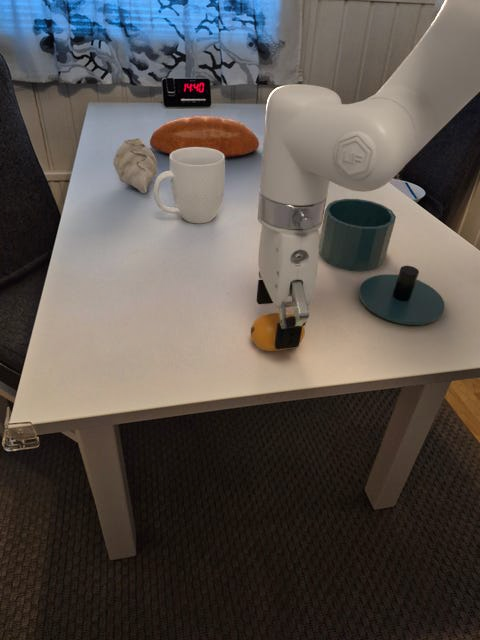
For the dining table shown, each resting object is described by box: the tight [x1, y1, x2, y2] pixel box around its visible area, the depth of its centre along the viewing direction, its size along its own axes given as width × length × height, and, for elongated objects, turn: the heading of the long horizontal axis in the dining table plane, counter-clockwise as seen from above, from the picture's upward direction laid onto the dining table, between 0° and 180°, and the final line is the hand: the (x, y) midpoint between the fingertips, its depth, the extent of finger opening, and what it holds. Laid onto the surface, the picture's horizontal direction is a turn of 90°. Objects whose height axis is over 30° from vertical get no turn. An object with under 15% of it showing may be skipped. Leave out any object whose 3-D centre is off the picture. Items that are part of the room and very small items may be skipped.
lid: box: [358, 265, 445, 326], centre depth 71 cm, size 13×13×6 cm
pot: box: [319, 198, 397, 272], centre depth 83 cm, size 12×12×8 cm
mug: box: [152, 147, 226, 224], centre depth 91 cm, size 15×11×13 cm
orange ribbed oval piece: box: [250, 311, 306, 352], centre depth 62 cm, size 8×5×5 cm
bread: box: [149, 115, 260, 158], centre depth 128 cm, size 23×32×9 cm
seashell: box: [112, 138, 158, 195], centre depth 105 cm, size 10×15×10 cm
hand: (276, 323), depth 61 cm, fingers open, 9 cm apart
